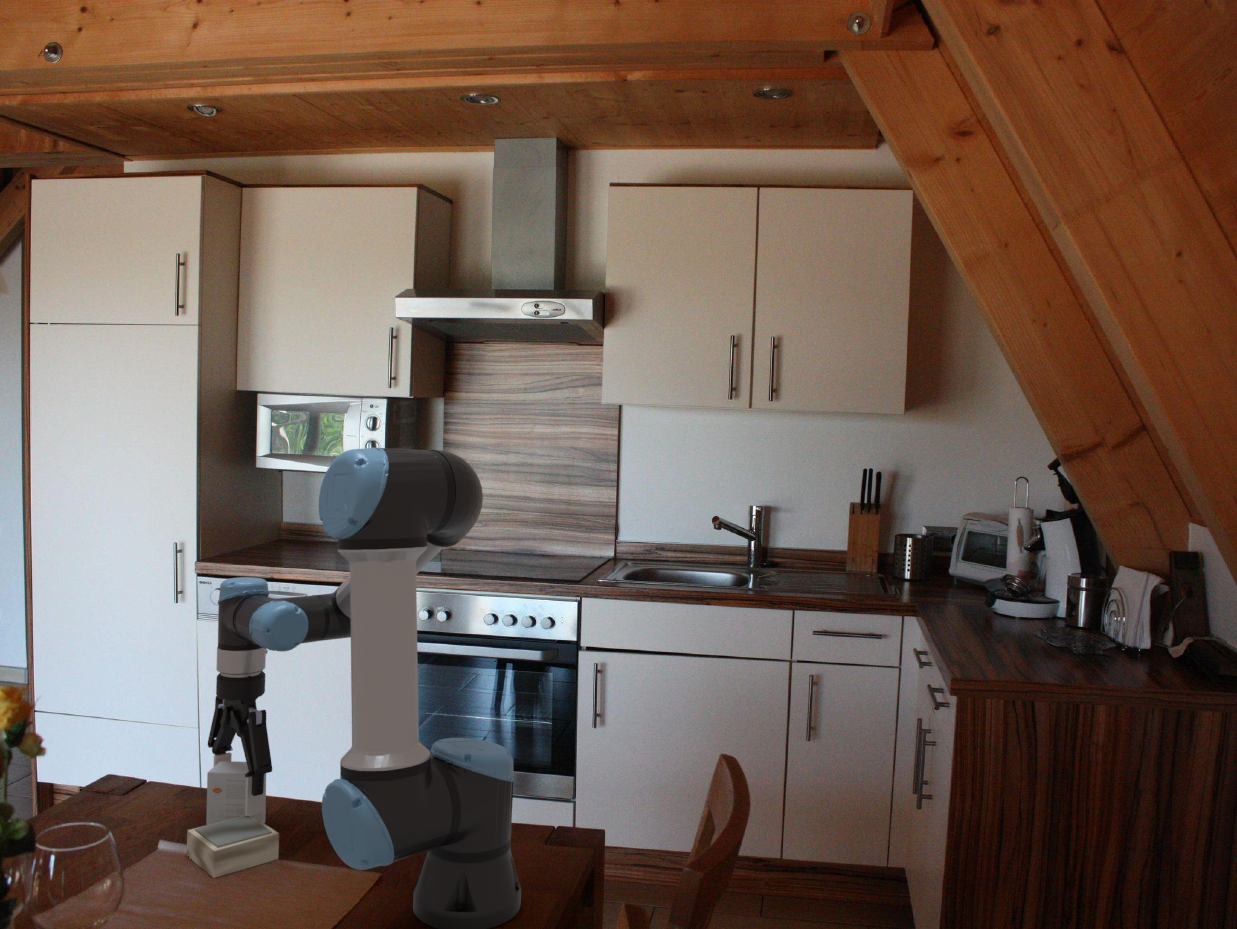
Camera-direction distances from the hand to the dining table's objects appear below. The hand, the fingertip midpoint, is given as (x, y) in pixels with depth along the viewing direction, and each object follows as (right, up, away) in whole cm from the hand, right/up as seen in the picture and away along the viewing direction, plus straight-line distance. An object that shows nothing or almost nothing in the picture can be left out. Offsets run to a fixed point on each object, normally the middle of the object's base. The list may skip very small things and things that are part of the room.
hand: (237, 802), depth 160 cm
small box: (0, -5, 0) cm, 5 cm away
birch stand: (+3, -5, -10) cm, 12 cm away
